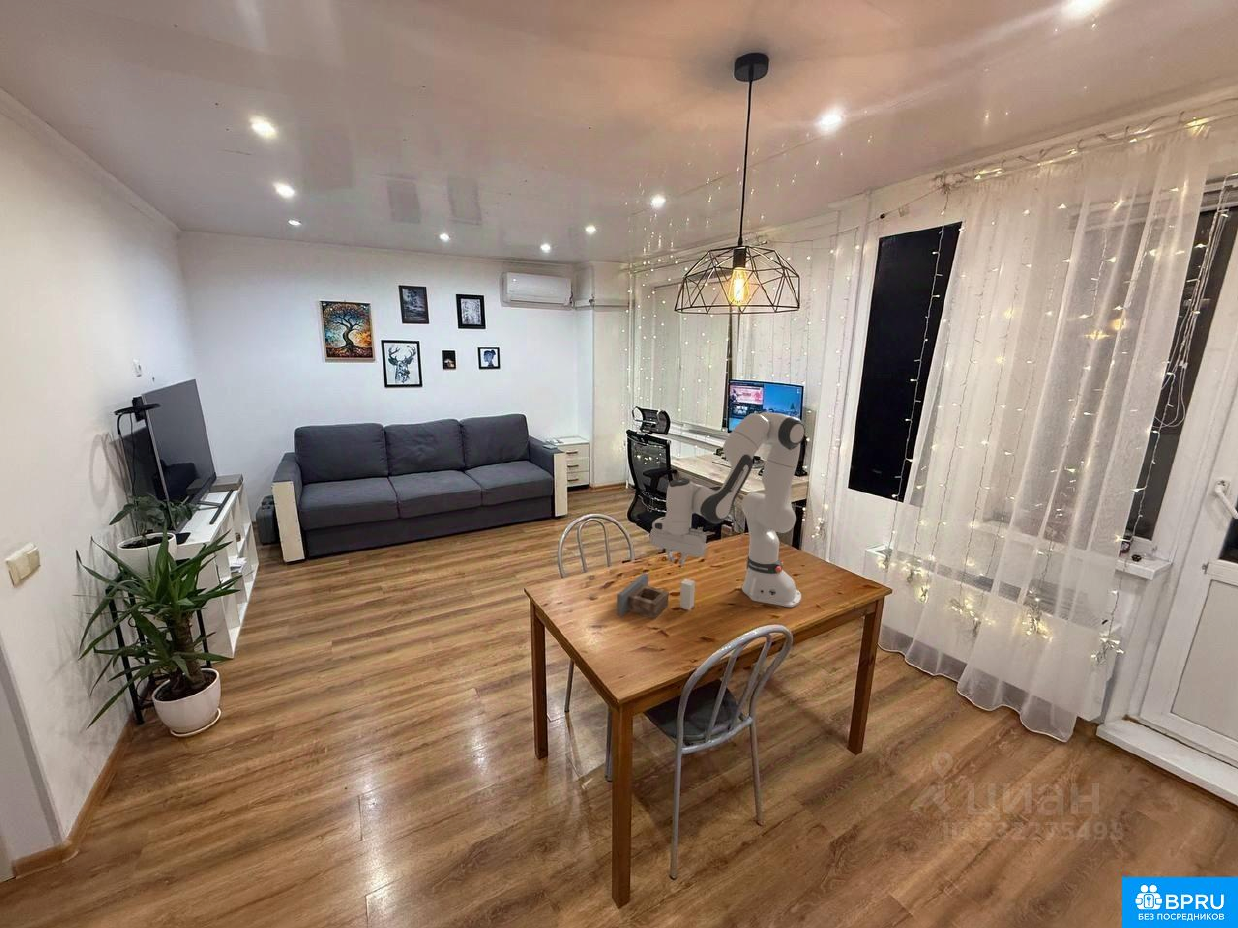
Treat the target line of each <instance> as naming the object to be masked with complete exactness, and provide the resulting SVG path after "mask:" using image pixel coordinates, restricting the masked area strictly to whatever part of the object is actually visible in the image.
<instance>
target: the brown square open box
mask: <svg viewBox="0 0 1238 928" xmlns="http://www.w3.org/2000/svg"><path fill="white" fill-rule="evenodd" d="M669 597H670V595H669V591H666V590H662V589H660V588H658V587H657V588H656V587H654V586H653V587H652V586H650V585H648V586H647V585H643V584H642V585H641V586H640V587H639V588H638V589H637V590H635V591H634V592H633V593H632V594H631V595H629V596H628V611H627V612H631V613H633V614H636V615H640V616H643V617H646V618H649V619H652V620H656V619H657V618H658V617H659V616H660V615H661V614H663V612H664V611H665V610H666V609H667V607H668V606H669Z"/></svg>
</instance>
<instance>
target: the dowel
mask: <svg viewBox="0 0 1238 928" xmlns="http://www.w3.org/2000/svg"><path fill="white" fill-rule="evenodd" d="M695 587H696V581H695V580H692V579H689V578H684V579H683V580H682V581H681V582H680V590H679V591H680V592H679V608H682V609H685V610H688V611H690V610H691V609H692V608H693V607H694V605H695V591H696V589H695Z"/></svg>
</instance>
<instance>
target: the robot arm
mask: <svg viewBox="0 0 1238 928" xmlns="http://www.w3.org/2000/svg"><path fill="white" fill-rule="evenodd" d="M805 433H806V428H805V423H804V422H803V421H802V420H801V419H799V418H797V417H794V416H790V415H788V414H784V413H781V412H769V411H766V410H760V411H757V412H753V413H750V414H748V415H746V416H745V417H744V418H743V419H742V420H741V421H740V422H739V423H738V424H737V425H736V426H735V427H734V428H733V430H732V431H731V432H730V434H728V436H727V437H726V439H725V441H724V443H723V446H722V448H723V449H722V450H723V455H724V456H725V458H726V460H727V461H728V463H729V464H730V471H729V474H728V475H727V477H726V478H725V480H724V482H723V484H722V485H721V487H720V488H719V489H718V490H713V489H711V488H709V487H707V486H705V485H702V484H699V483H695V482H693V481H692V480H691V479H689V478H687V477H679V478H674V479H673V480H671V481H670V482H669V484H668V485H667V486H668V487H667V491H666V500H665V501H666V502H665V506H666V512H665V513H666V514H665V516H663V517H659V518H657V519H655V520H654V521H653V522H652V524H651V527H652V528H651V530H650V533H649V544H650V546H652V547H654V548H655V547H656V548H660V549H664V550H665V554H666V555H667V557H668V562H670V563H671V562H672V563H674V562H675V555H673V553H672V552H675V553H681V556H682V557H680V558H679V559H678V564H679V565H684V564H685V563H686V562H685V559H686V558H687V557H688V556H692V557H696V558H702V557H704V556H705V555H706V554H707V543H706V542H707V534H706V532H704V531H703V530H702V529H696V528H694V527H692V515H693V514H697V515H699V516H700V517H703V519H705V520H706V521H707V522H709V523H712V524H719V523H721V522H723V521H726V520H727V518H728V517H729V516H730V514H731V512H732V510H733V509H732V508H733V505H734V504H735V502H736V499H737V497H738V495H739V494H740V492H741V490H742V488H743V487H744V485H745V483H746V481H747V479H748V478H749V476H750V473H751V472H752V469H753V467H754V466H753V465H754V462H753V459H754V457H755V455H756V453H757V452H758V451H759V449H760V448H761V447H762V444H763V443H764V442H766V443H770V445H771V446H770V449H769V452H768V453H767V454H768V455H767V458H766V461H765V465H764V467H763V470H762V474H761V482H762V485H763V487H764V493H762V492H761V493H760V492H755V491H754V492H753V491H752V492H749V493H747V494H746V495H744V497H743V498H742V499H741V502H740V503H741V504H740V505H741V506H740V507H741V510H742V512H743V514H744V516H745V519H746V524H747V528H748V534H749V548H748V555H747V558H746V574H745V577H744V582H743V584H742V586H741V590H742V592H743V593H744V594H745V595H746V596H748V597H749V599H750V600H751V601H752V602H753V601H754V602H758V603H762V604H763V603H764V604H769V605H774V606H780V607H786V608H794V607H796V606H798V605H799V604H800V602H801V601H802V594H801V592H800V591H799V590H797V588H796V582H795V580H794V578H792V577H791V576H790V575H789V574H788V573H787V572H785V571H784V570H783V566H784V560H782V561H780V559H779V550H780V539H779V537H778V535H777V533H781V534H785V533H788V532H789V531H791V530H792V529H793V528H794V526H795V524H796V521H797V516H796V512H795V511H794V508H793V505H792V495H791V493H792V486H793V481H794V476H795V473H796V470H797V466H798V462H799V457H800V451H801V442H802V441H803V439H804V438H805V437H804V436H805ZM776 532H777V533H776Z"/></svg>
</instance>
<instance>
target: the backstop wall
mask: <svg viewBox="0 0 1238 928" xmlns="http://www.w3.org/2000/svg"><path fill="white" fill-rule="evenodd" d="M642 584H643V585H647V586H649V574H648V573H645V572H643V573H642V574H641V575H639V576H638V577H637V578H635V580H633V582H631V583H629V584H628V585H627V586H626V587H624V588H623V589H622V590H621V591H619V593H617V595H616V597H617V598H616V599H617V600H616V601H617V602H616V606H617V607H616V615H618V616H620V617H622V616H624V615H625V614H626V613H627V612H629V611H628V596H629V595H631V594H632V593H633V592H634V591H635V590H637V589H638V588H639V587H640V586H641V585H642Z"/></svg>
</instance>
